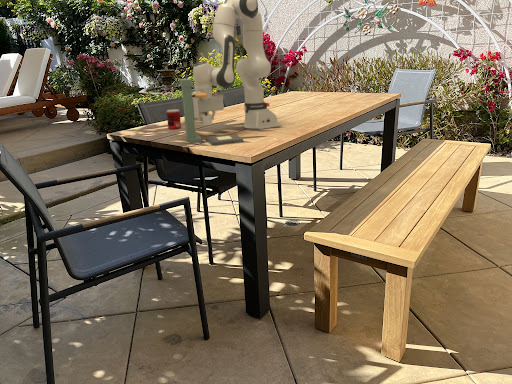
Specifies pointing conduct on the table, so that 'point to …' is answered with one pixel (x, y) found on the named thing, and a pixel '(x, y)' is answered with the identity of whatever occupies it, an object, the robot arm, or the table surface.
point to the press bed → (224, 139)
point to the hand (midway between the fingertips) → (206, 120)
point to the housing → (206, 119)
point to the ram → (195, 103)
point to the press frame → (188, 111)
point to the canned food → (173, 119)
